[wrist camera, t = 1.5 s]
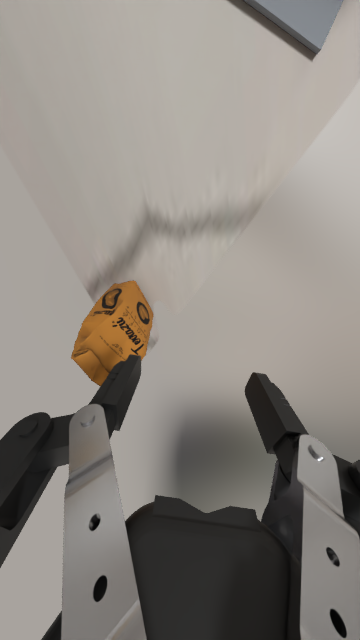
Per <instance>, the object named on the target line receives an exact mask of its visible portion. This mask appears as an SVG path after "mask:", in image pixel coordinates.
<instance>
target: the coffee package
mask: <svg viewBox="0 0 360 640" xmlns="http://www.w3.org/2000/svg"><path fill="white" fill-rule="evenodd" d="M152 319H153V312H152V310H151V308H150V306H149V304H148V302H147V300H146V299H145V297H144V295H143V293H142V292H141V290H140V288H139V286H138V285H137V283H136V282H135V281H128V282H124V283H121V284H116V283H115V284H113V285H112V286H111V287H110V289H109V290H107V291H106V292H105V293H104V294H103V295H102V297H101V298H100V299H99V300H98V301H97V302H96V304H95V306H94V307H93V308H92V310H91V311H90V313H89V315H88V316H87V317H86V318H85V320H84V321H83V323H82V327H81V329H80V331H79V333H78V337H77V340H76V341H75V345H74V350H73V352H72V357H71V358H72V359H73V360H74V361H75V362H76V363H77V364H78V365H79V366H80V367H81V369H82V370H83V371H84V372H85V373H86V374H87V375H88V377H89V378H90V379H91V381H93V382H95V383H96V384H98V385H99V386H101V385H102V384H103V382H104V381H105V379H106V378H107V376H108V374H110V371H111V370H112V368H113V367H114V365H116V364H117V363H118V362H120V361H126V360H127V358H128V356H129V355H130V354H133V355H140V356H141V360H142V359H143V357H144V356H145V355H146V350H147V344H148V340H149V336H150V330H151V328H152Z"/></svg>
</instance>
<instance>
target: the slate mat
mask: <svg viewBox="0 0 360 640" xmlns="http://www.w3.org/2000/svg"><path fill="white" fill-rule="evenodd" d="M244 1H245V2H247V3H248V4H249V5H251V6H252V7H253V8H255V9H256V10H258V11H259V12H260V13H262V14H263V15H264V16H266V17H267V18H268V19H270V20H271V21H272V22H274V23H275V24H277V25H278V26H279V27H281V28H282V29H283V30H285V31H286V32H287V33H289V34H290V35H291V36H293V37H294V38H296V39H297V40H298V41H300V42H301V43H302V44H304V45H305V46H306V47H308V48H309V49H310V50H312V51H313V52H315V53H316V54H318V52H319V51H320V50H321V48H322V46H323V44H324V42H325V40H326V37H327V35H328V33H329V31H330V29H331V26H332V24H333V22H334V20H335V18H336V15H337V13H338V11H339V9H340V7H341V4H342V2H343V0H244Z"/></svg>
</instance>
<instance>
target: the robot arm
mask: <svg viewBox="0 0 360 640" xmlns="http://www.w3.org/2000/svg"><path fill="white" fill-rule="evenodd" d="M140 375H141V356H140V355H133V354H130V355H129V356H128V358H127V360H126V361H120V362H118V363H117V364H116V365H114V367H113V368H112V370H111V371H110V374H108V376H107V378H106V379H105V381H104V382H103V384H102V385H101V387H100V388H99V390H98V391H97V393H96V395H95V396H94V397H93V399H92V401H91V402H90V403H89V404H88V405H87V406H84V407H83V408H81V409H80V410H78V411H77V412H76V413H74V414H71V415H66V416H61V417H56V418H50V416H49V415H48V414H47V413H44V412H39V413H34V414H32V415H29V416H27V417H25V418H23V419H22V420H20V421H19V422H18V423H16V424H15V425H14V426H13V427H12V428H11V429H10V430H9V431H8V432H7V433H6V435H5V436H4V437H3V438H2V439H1V440H0V568H1V566H2V564H3V562H4V560H5V559H6V557H7V555H8V553H9V552H10V550H11V548H12V546H13V544H14V543H15V541H16V539H17V537H18V536H19V534H20V532H21V530H22V528H23V527H24V525H25V523H26V521H27V520H28V518H29V516H30V514H31V513H32V511H33V509H34V507H35V505H36V503H37V502H38V500H39V498H40V497H41V495H42V493H43V491H44V489H45V488H46V486H47V484H48V482H49V481H50V479H51V477H52V475H53V473H54V472H55V470H56V468H57V467H58V466H62V465H66V464H69V479H68V482H67V484H66V488H65V498H64V499H65V500H64V543H63V545H64V546H63V588H62V611H61V613H60V614H59V615H58V616H57V618H56V620H55V621H54V622H53V624H52V625H51V626H50V628H49V629H48V631H47V632H46V634H45V635H44V636H43V638H42V639H41V640H360V460H358V461H356V462H354V463H353V464H352V463H350V462H348V461H346V460H344V459H341V458H339V457H337V456H335V455H333V454H331V452H330V451H329V450H328V449H327V448H326V446H325V445H323V444H322V443H321V442H320V441H319V440H317V439H316V438H314V437H312V436H310V435H309V434H308V433H307V431H306V430H305V428H304V426H303V425H302V423H301V422H300V420H299V419H298V417H297V415H296V414H295V412H294V411H293V409H292V408H291V406H290V405H289V403H288V401H287V400H286V399H285V397H284V395H283V393H282V392H281V390H280V389H279V388H278V387H277V386H275V384H274V383H271V382H270V380H269V378H268V377H267V375H266V374H261V373H252V375H251V377H250V379H249V381H248V383H247V385H246V387H245V395H246V398H247V401H248V403H249V406H250V409H251V412H252V414H253V417H254V419H255V422H256V425H257V427H258V430H259V433H260V435H261V438H262V440H263V443H264V446H265V449H266V451H267V453H270V454H276V456H277V459H278V460H277V461H276V463H275V469H274V475H273V481H272V486H271V492H270V498H269V502H268V504H267V506H266V508H265V510H264V513H263V515H262V519H261V522H260V521H259V520H258V519H257V516H256V512H255V510H253V509H247V508H240V507H232V506H229V507H226V508H223V509H220V510H217V511H214V512H210V513H203V512H202V511H200V510H198V509H197V508H195V507H193V506H191V505H190V504H188V503H186V502H185V501H182V500H181V499H177V498H171V497H164V496H157V495H156V496H155V501H154V502H152V503H149V504H147V505H144V506H142V507H141V508H139V509H138V510H137V511H135V512H134V513H133V514H132V515H131V516H130V517H129V518H128V519H127V520H126V521H125V520H124V515H123V510H122V505H121V499H120V494H119V489H118V483H117V478H116V473H115V467H114V462H113V456H112V451H111V446H110V437H111V435H112V433H113V431H114V430H117V431H119V430H120V428H121V425H122V422H123V420H124V417H125V415H126V412H127V410H128V407H129V405H130V402H131V400H132V397H133V394H134V392H135V389H136V387H137V384H138V382H139V379H140Z"/></svg>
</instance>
